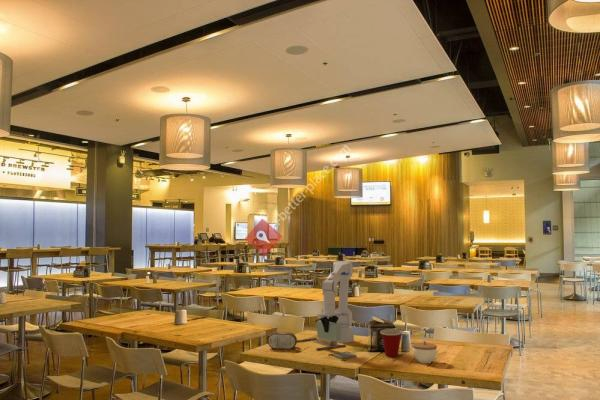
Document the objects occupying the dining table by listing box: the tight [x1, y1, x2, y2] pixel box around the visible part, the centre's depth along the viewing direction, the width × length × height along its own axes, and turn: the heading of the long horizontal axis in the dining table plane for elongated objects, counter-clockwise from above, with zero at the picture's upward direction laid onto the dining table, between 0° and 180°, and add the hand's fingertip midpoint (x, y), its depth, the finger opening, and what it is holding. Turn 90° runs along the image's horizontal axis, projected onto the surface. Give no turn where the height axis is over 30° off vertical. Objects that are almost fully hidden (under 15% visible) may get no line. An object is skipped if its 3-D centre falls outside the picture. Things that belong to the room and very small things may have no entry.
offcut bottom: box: [315, 337, 338, 346], centre depth 271 cm, size 5×12×2 cm, turn 33°
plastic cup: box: [379, 328, 403, 358], centre depth 248 cm, size 11×11×12 cm
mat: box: [328, 351, 357, 360], centre depth 250 cm, size 9×17×1 cm, turn 33°
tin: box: [267, 331, 298, 350], centre depth 262 cm, size 15×3×8 cm, turn 84°
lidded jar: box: [412, 340, 438, 364], centre depth 236 cm, size 11×11×9 cm
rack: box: [297, 337, 347, 351], centre depth 268 cm, size 18×23×2 cm
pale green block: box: [316, 320, 341, 341], centre depth 256 cm, size 3×14×8 cm, turn 39°
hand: (329, 331), depth 256 cm, fingers closed on pale green block, 3 cm apart
